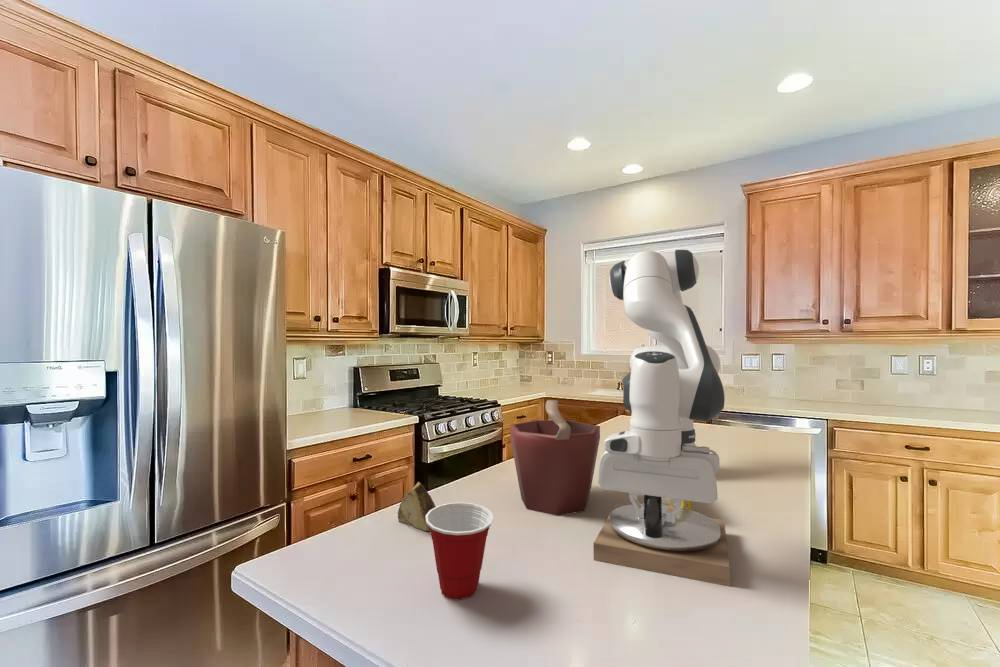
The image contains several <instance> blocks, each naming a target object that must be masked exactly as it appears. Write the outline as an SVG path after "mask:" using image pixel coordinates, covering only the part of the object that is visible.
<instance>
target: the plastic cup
mask: <svg viewBox="0 0 1000 667" xmlns="http://www.w3.org/2000/svg"><path fill="white" fill-rule="evenodd" d="M493 521H494V514H493V512H492V511H491V510H490V509H489V508H487V507H486V506H483V505H480V504H476V503H472V502H448V503H445V504H440V505H436V506H435V508H433V509H431V510H430V511H429V512H428V513H427V514H426V523H427V525H428V527H429V529H430V531H429V533H430V536H431V540H432V545H433V553H434V559H435V560H434V561H435V566H436V572H437V575H438V581H439V582H438V583H439V588H440V592H441V594H442V595H443V597H445V598H447V597H448V599H450V598H451V600H457V599H458V600H464V599H463V598H466V599H468V598H471V597H472V596H474V595H475V594H476V593H477V590H478V586H479V583H480V576H481V570H482V566H483V560H484V554H485V549H486V543H487V537H488V535H489V534H488V533H489V530H490V527H491V526H492V523H493Z"/></svg>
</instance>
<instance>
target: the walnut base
mask: <svg viewBox="0 0 1000 667" xmlns="http://www.w3.org/2000/svg"><path fill="white" fill-rule="evenodd" d="M621 506H623V505H621V504H614V506H613V508H612V510H611V511H610V513H611V512H612V511H613V510H615V509H616V508H619V507H621ZM710 518H711V519H712V520H714V521H715V522H716V523H717V524H718V525H719V527H720V533H721V537H720V540H719V542H718V543H717V544H715V545H714V546H712V547H709V548H705V549H701V550H692V551H676V550H665V549H658V548H653V547H649V546H645V545H641V544H638V543H635V542H632V541H630V540H628V539H625V538H623V537H622V536H620V535H618V534H617V533H616V532H615V531H614V530H613V529H612V528H611V526H610V514H608V517H607V519H606V520H605V522H604V523H603V526H602V527H601V529H600V531H599V533H598V534H597V536H596V538H595V540H594V542H593V561H598V562H604V563H609V564H614V565H619V566H624V567H627V568H628V567H629V568H634V569H640V570H644V571H650V572H654V573H659V574H665V575H671V576H675V577H681V578H686V579H689V580H695V581H702V582H707V583H712V584H717V585H722V586H728V587H731V569H730V560H729V557H730V556H729V551H728V550H729V549H728V541H727V532H726V525H725V519H720V518H714V517H710Z"/></svg>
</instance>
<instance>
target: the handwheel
mask: <svg viewBox="0 0 1000 667" xmlns="http://www.w3.org/2000/svg"><path fill="white" fill-rule="evenodd" d="M662 498H663V497H657V496H649V495H643V503H639V504H640V505H641V506H643V507H644V519H640V518H636V509H635V508H634V506H633V504H632V503H631V504H626V505H622V506H621V507H619V508H616V509H615V510H613V511H612V510H611V511H612V512H611V511H610V513H609V515H610V526H611V528H612V529H613V530H614V531H615V532H616V533H617V534H618V535H620V536H622V537H623V538H625V539H628V540H630V541H632V542H635V543H638V544H641V545H645V546H649V547H653V548H658V549H665V550H676V551H692V550H701V549H705V548H709V547H712V546H714V545H715V544H717V543H718V542H719V540H720V537H721V533H720V527H719V525H718V524H717V523H716V522H715V521H714V520H712V519H711V518H712V517H709V516H707V515H705V514H703V513H701V512H698V511H695V510H692V509H691V510H689V509H686V508H681V507H680V509H679V510H678V512H677V513H676V522H675V524H671V523H666V512H667V510H671V511H672V509H673V508H674V506H673V504H672V505H671V504H663V500H662Z"/></svg>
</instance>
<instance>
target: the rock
mask: <svg viewBox="0 0 1000 667" xmlns="http://www.w3.org/2000/svg"><path fill="white" fill-rule="evenodd" d="M435 507H436V504H435V502H434V500H433V499H432V497H431V495H430V493H429V492H428V490H426V487H425V486H424V485H423V484H422V483H421V482H420V481H417V483H416V484H415V485H414V486H413V488H412V489H411V490H409V491H408V493H406V494H405V495H404V497H403V498H402V499H401V502H400V504H399V508H398V511H397V520H398V521H399V522H401V523H404V524H406V525H409V526H412V527H413V528H416V529H419V530H422V531H425V532H430V529H429V527H428V525H427V523H426V514H427V513H428V512H429V511H430V510H431V509H433V508H435Z"/></svg>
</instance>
